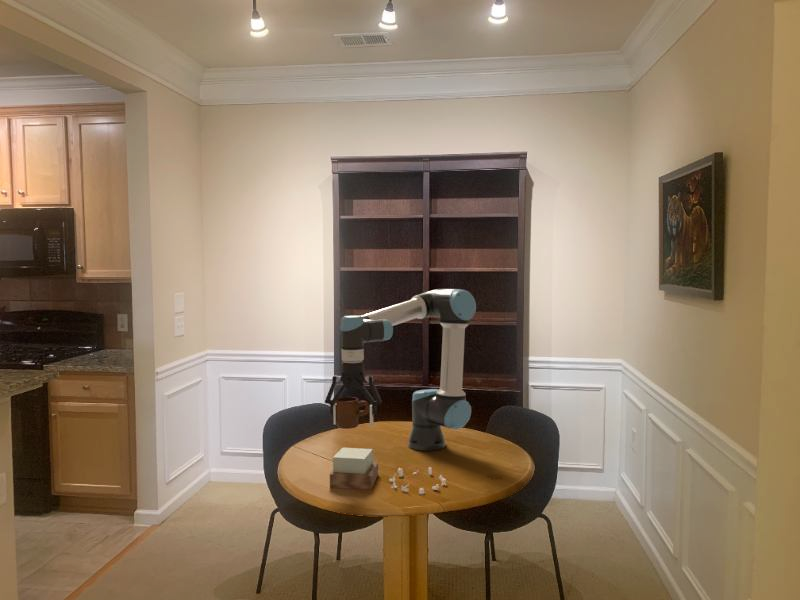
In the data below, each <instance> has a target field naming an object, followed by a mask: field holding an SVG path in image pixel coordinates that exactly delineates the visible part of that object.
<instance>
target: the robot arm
mask: <svg viewBox="0 0 800 600" xmlns="http://www.w3.org/2000/svg"><path fill="white" fill-rule="evenodd" d="M476 310H477V302H476V300H475V297H474V296H473V295H472V293H471V292H470V291H468V290H466V289H461V288H436V289H432V290H428V291H425V292H422V293H420V294H416V295H414V296H412V297H411V299H409V300H406V301H402V302H400V303H396V304H393V305H390V306H387V307H384V308H381V309H378V310H375V311H372V312H369V313H365V314H362V315H344V316H342V318H341V322H340V325H339V329H340V337H341V338H340V339H341V340H340V341H341V361H342V362H341V375H337V374H335V375H333V376H332V377H331V378H332V381H331V382H332V383H331V384H330V387H329V391H328V392H327V395H326V398H325V400H324V403H325V404H328V405H329V406H330V415H333V418H332V419H333V425H336V426H337V417H336V402H337V399H338V398H341V395H342V394H343V392H344V391H345V390H346V388H347V390H350V389H354V390H358V389H359V391H361V392H362V394H363V395H364V397H365V398H366V399H367V400H368V401H367V402H368V403H369V405H370V410H369V426H373V425H374V416H376V415H377V406H378V405H380V404H381V403H382V399H381V395H380V394H379V392H378V389H377V386H376V383H375V382H374V376H373V375H372V374H371V375H367V376H366V375H365V364H364V363H365V362H364V359H365V354H364V351H365V350H364V349H365V348H364V346H365V345H364V344H366V343H373V342H374V343H375V342H384V341H388V340H390V339H391V338H392V337H393V333H394V326H397V325H399V324H402V323H406V322H409V321H411V320H415V319H418V320H422V319H425V318H439V324H440V325H441V327H442V339H441V340H442V342H441V343H442V344H441V359H440V360H441V362H440V363H441V365H440V381H439V382H440V384H439V385H440V386H439V389H438V388H429V389H427V388H426V389H420V390H416V391H414V392H413V393H412V400H411V408H412V409H411V411H412V412H411V413H412V417H411V419H412V428H411V431H410V434H409V437H408V442H407V443H408V447H409V448H411V449H413V450H415V451H421V452H433V451H439V450H442V449H444V448H445V447H446V439H445V436H444V433H443V430H442V429H443V428H442V427H444V428H446V429H451V430H452V429H453V430H460V429H462V428H464V427H465V426H466V424H467V423H468V422H469V420H470V418H471V415H472V406H471V404H470V403H469V401H467V399H466V398H467V397H466V396H467V395H466V392H465V391H464V390H463V377H464V375H463V374H464V357H465V356H464V355H465V335H466V334H465V332H466V331H465V330H466V328H467V327H468V326H469V325H470V320H471V319H473V318H474V315H475V314H476ZM339 381H341V382H342V386H341V387H340V388H339V390H338V391H337V393H336V394H335V395H334V396H333V394H334V392H335V389H336V387H337V384H338V382H339ZM365 381H366V382H367V383H368V385H369V387H370V391H371V392H370V391H369V390H368V389H367V388H366V385H364V382H365ZM371 393H372V394H373V396H372V395H371ZM332 397H333V398H332Z"/></svg>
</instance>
